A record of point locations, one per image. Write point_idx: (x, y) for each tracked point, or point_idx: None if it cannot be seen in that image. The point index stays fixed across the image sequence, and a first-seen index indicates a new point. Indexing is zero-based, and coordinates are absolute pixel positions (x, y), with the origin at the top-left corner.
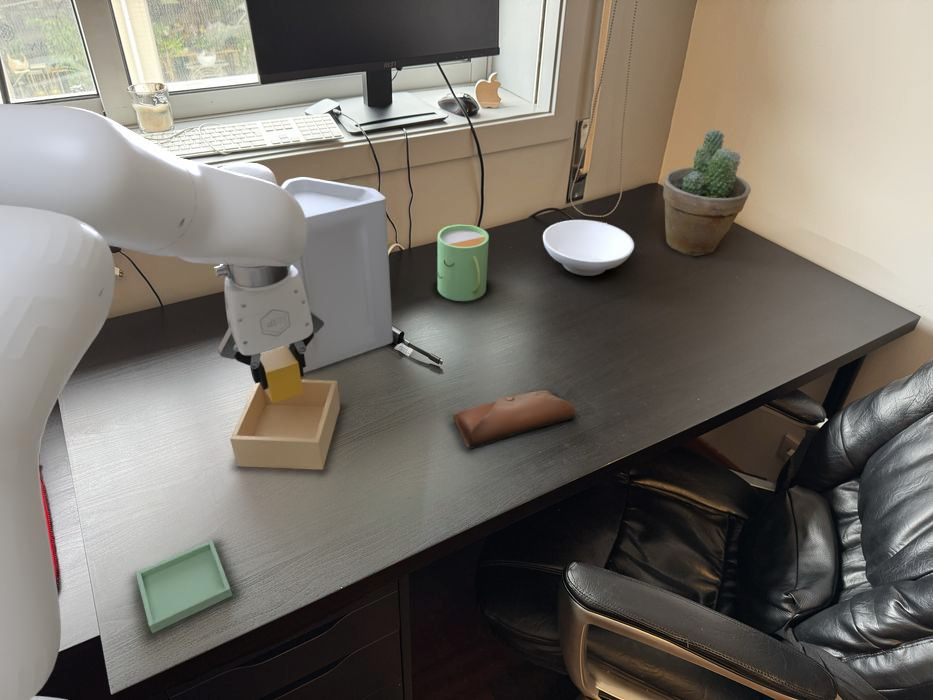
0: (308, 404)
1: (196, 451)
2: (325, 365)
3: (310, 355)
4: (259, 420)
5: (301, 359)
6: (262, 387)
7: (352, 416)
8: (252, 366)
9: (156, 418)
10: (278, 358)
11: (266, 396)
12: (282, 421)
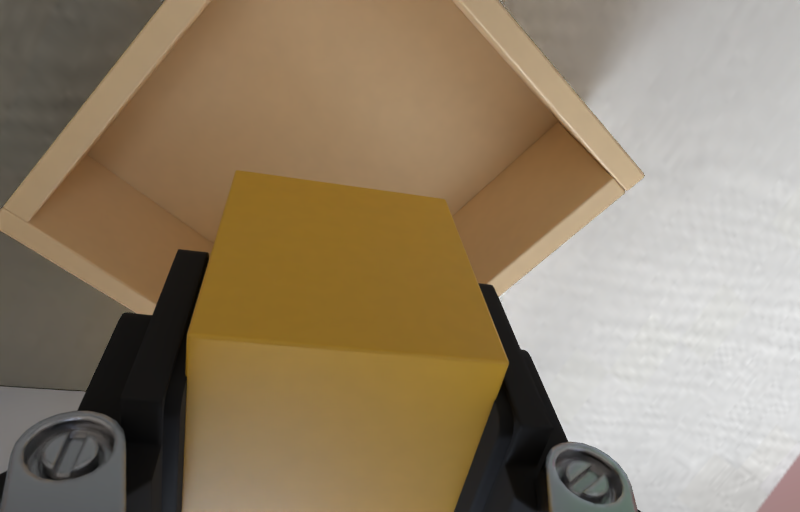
0: (188, 232)
1: (622, 266)
2: (26, 388)
3: None
4: None
5: (135, 359)
6: None
7: (29, 58)
8: (599, 472)
9: (610, 442)
10: (318, 462)
11: None
12: None
